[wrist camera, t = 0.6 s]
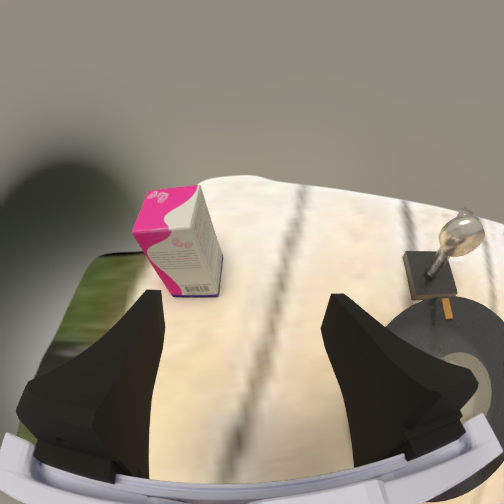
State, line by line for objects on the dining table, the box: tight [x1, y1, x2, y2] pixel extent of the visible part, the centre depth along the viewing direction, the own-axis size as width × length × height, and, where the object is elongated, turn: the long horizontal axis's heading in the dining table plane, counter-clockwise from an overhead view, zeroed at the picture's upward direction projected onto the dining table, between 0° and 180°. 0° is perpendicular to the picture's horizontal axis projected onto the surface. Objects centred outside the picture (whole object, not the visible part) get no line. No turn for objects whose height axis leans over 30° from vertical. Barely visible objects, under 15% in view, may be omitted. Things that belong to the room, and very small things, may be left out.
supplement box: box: [132, 185, 223, 297], centre depth 30 cm, size 6×6×12 cm
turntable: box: [386, 296, 504, 502], centre depth 20 cm, size 22×22×2 cm
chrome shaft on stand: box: [403, 208, 485, 300], centre depth 26 cm, size 6×6×12 cm
